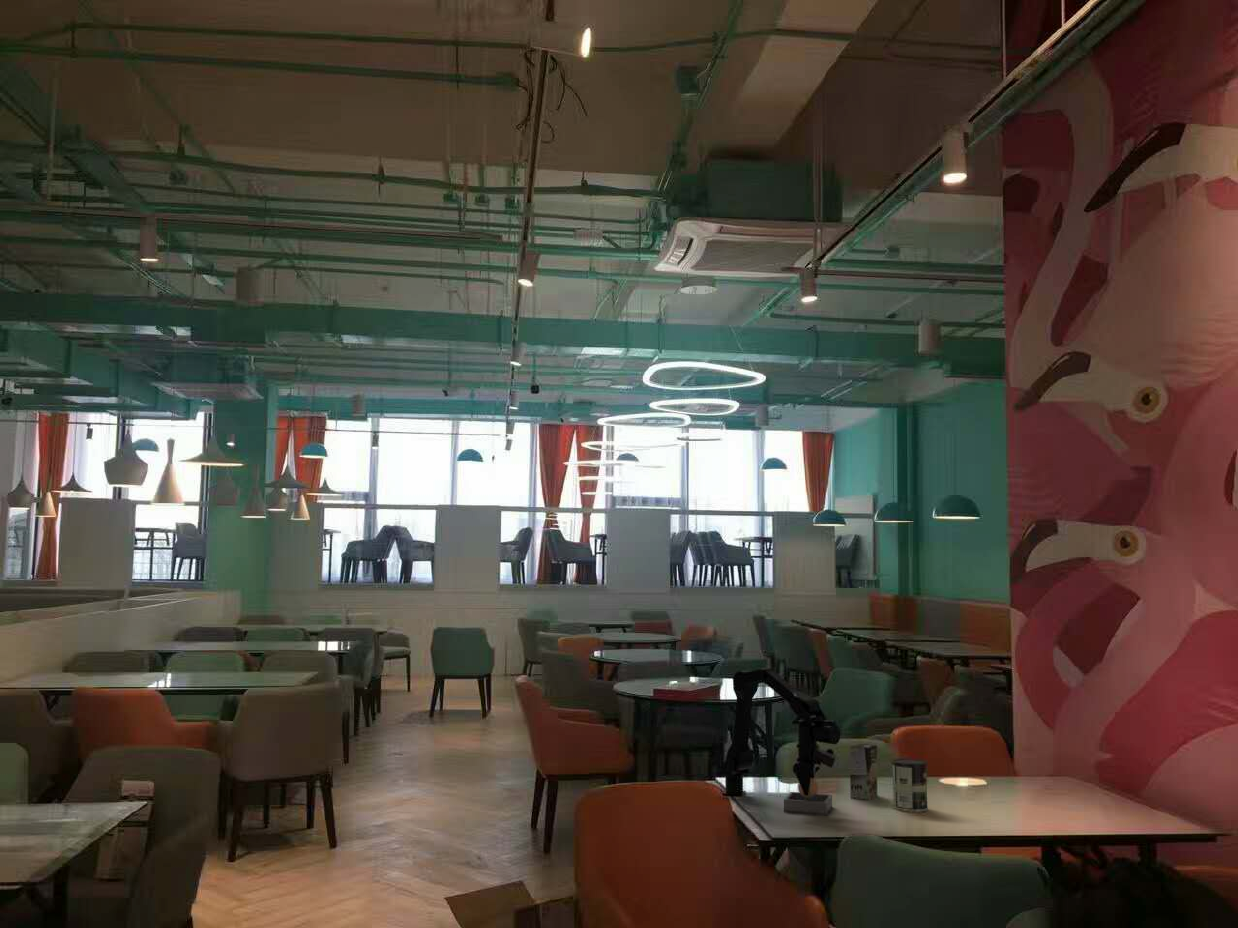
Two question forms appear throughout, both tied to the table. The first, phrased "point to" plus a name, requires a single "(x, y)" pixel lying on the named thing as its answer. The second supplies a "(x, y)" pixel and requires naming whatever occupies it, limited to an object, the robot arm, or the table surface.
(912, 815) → the table surface
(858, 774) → the coffee box
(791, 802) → the grey open square tray
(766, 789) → the table surface
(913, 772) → the coffee can
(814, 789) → the ball
